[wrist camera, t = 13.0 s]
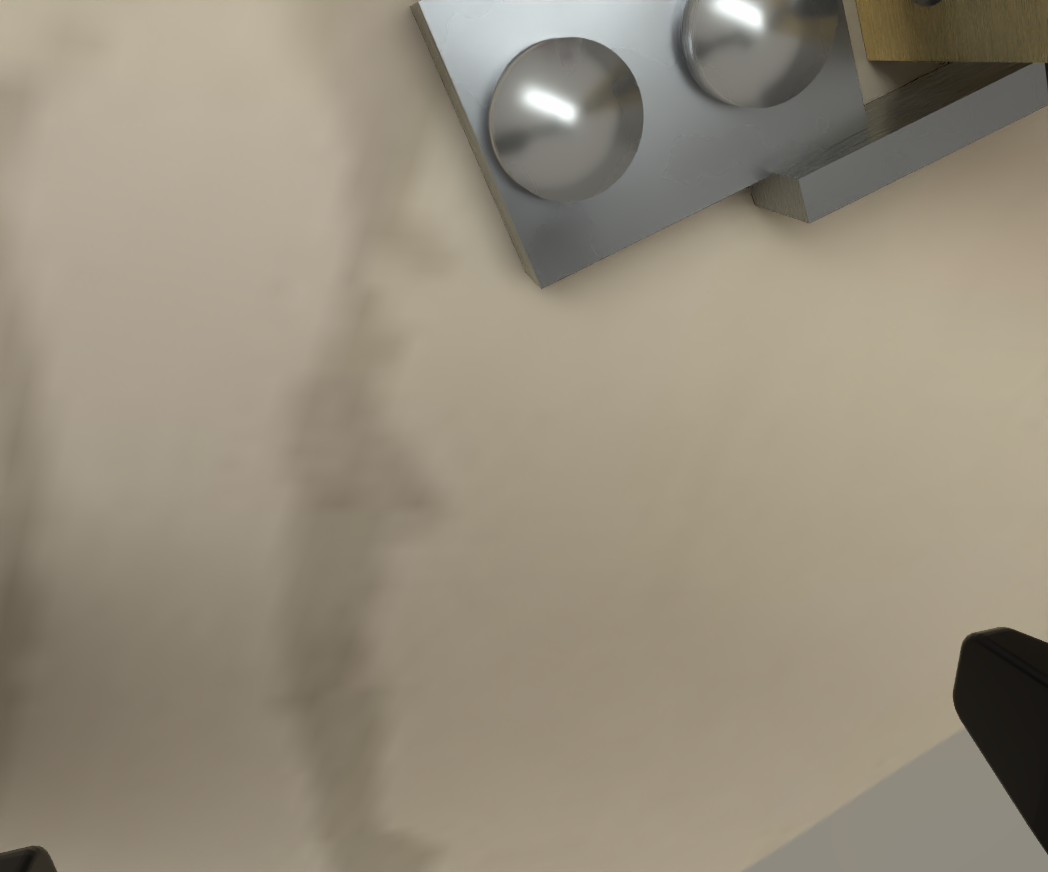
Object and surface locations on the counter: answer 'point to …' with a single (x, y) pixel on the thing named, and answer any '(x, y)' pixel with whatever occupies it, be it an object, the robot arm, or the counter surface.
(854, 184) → the chain ends
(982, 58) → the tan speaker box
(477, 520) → the counter surface
